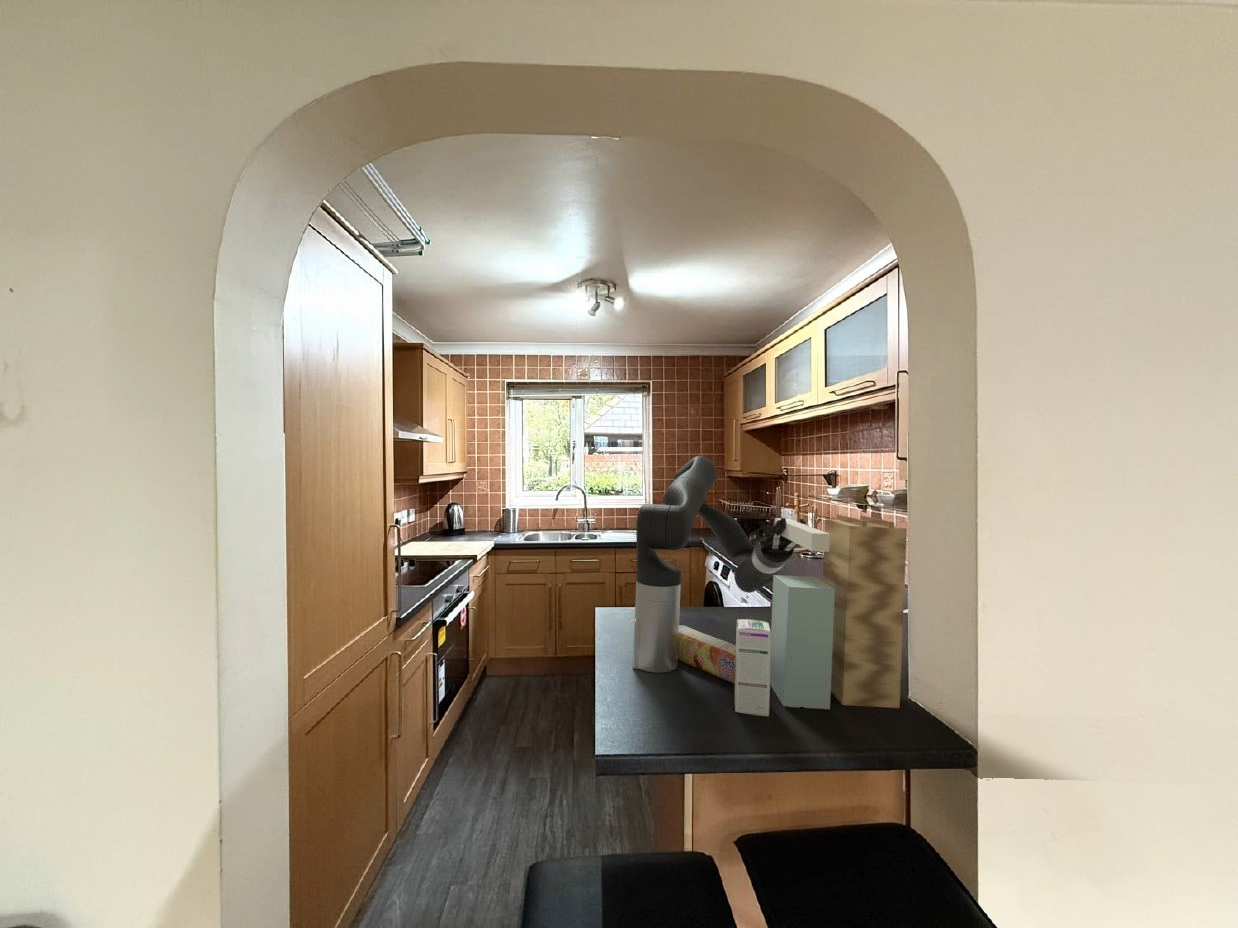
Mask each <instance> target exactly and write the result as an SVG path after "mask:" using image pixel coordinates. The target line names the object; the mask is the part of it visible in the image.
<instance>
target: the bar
mask: <svg viewBox="0 0 1238 928" xmlns="http://www.w3.org/2000/svg"><path fill="white" fill-rule="evenodd" d="M781 518H782V517H781ZM781 518H779V517H778V518H777V517H774V524H776V522H777V521H778V520H781ZM785 519H786V529H785V530H784V531H783V533H782V534H781V536H783V537H785V538H787V539H789V540H791V541H793V542H795V543H797V544H799V546H801V547H803V548H805V549H807V550H808V551H811V552H823V553H824V552H829V546H830V534H828V533H826V532H825V531H823V530H820V529H818V528H815V527H812V526H809V525H807V524H806V523H805V524H806V525H805V524H802V523H799V522H797V521H798V520H797V521H796V520H794V519H790V518H785Z"/></svg>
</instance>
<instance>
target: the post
mask: <svg viewBox="0 0 1238 928" xmlns="http://www.w3.org/2000/svg"><path fill="white" fill-rule="evenodd" d="M834 596H835V589H834V588H832V587H830V586H829V585H827V584H825V583H824V582H823V580H821V579H819V578H818V577H816V576H805V575H803V576H800V575H780V574H777V575H773V582H772V599H771V600H772V601H771V602H772V603H771V628H770V631H771V648H770V688H772V690H773V692H774V693H775V695H776V696H777V698H778V700H779V701H780V703H781V704H782V706H783V707H785V706H786V707H785V708H800V707H804V708H803V709H805V708H806V709H819V710H820V709H821V710H822V709H823V710H830V709H831V696H832V695H831V694H832V692H831V670H832V646H833V621H834ZM787 706H788V707H787Z"/></svg>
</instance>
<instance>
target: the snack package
mask: <svg viewBox="0 0 1238 928" xmlns="http://www.w3.org/2000/svg"><path fill="white" fill-rule="evenodd" d="M677 661H681V662H683V663H685V664H687V665H690V666H692V667H693V668H697V669H699V670H701V671H704V672H707V673H709V674H711V675H713V676H716V677H718V678H721V680H724V681H727V682H729V683H731V684H733V685H735V662H736V644H733V643H731V642H728V641H725V640H722V639H720V638H717V637H713V636H711V635H709V634H706V633H703V632H701V631H698V630H696V629H694V628H691V627H688V626H686V625H679V636H678V659H677Z"/></svg>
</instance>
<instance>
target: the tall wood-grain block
mask: <svg viewBox="0 0 1238 928" xmlns="http://www.w3.org/2000/svg"><path fill="white" fill-rule="evenodd" d="M835 518H836V519H827V518H826V519H824V532H826V533H828V534H830V546H829V552H823V560H822V561H823V567H822V582H824V583H825V584H827V585H829V586H830V587H832V588H834V589H835V596H834V621H833V646H832V670H831V694H832V695H833V696H834V695H835V696H834V698H836V699H837V700H838V702H839V703H840V704H841V705H843V706H853V707H854V706H857V707H872V708H873V707H876V708H892V709H900V707H901V705H900V703H901V679H902V659H903V658H902V655H903V654H902V653H903V634H904V633H903V631H904V626H903V625H904V607H905V606H904V604H905V577H906V555H907V528H906V527H901V526H898V525H897V526H896V525H895V522H894V521H890V520H886V519H882V518H881V519H880V518H877V517H876V518H875V517H871V516H866V515H860V518H856V517H855V518H854V517H852V516H846V515H842V514H836V516H835Z"/></svg>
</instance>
